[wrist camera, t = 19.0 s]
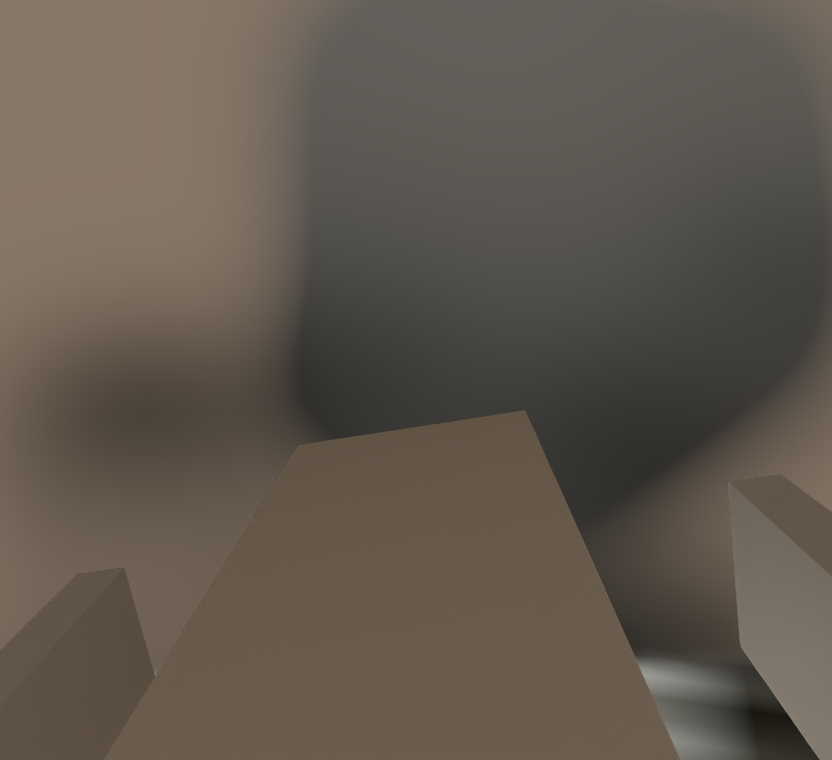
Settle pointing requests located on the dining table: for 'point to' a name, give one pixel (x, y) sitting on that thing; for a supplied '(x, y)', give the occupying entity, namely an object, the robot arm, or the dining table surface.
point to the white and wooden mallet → (405, 617)
